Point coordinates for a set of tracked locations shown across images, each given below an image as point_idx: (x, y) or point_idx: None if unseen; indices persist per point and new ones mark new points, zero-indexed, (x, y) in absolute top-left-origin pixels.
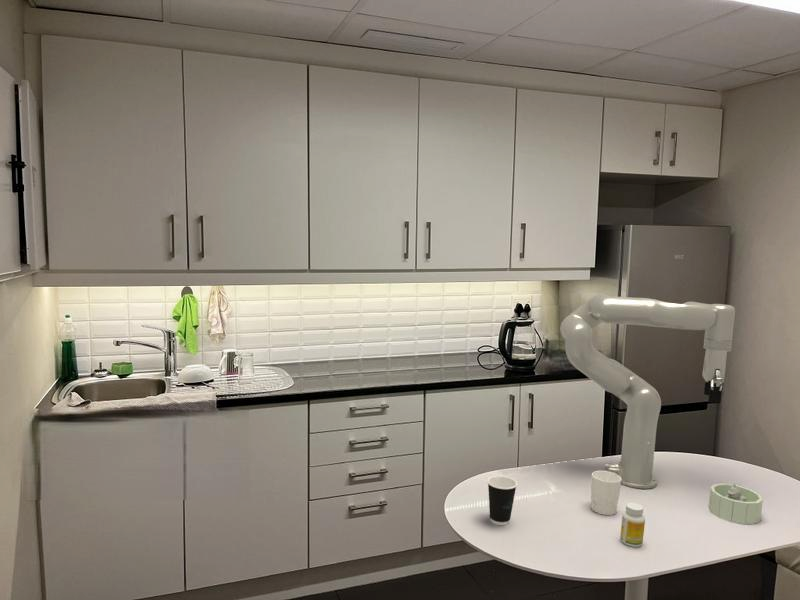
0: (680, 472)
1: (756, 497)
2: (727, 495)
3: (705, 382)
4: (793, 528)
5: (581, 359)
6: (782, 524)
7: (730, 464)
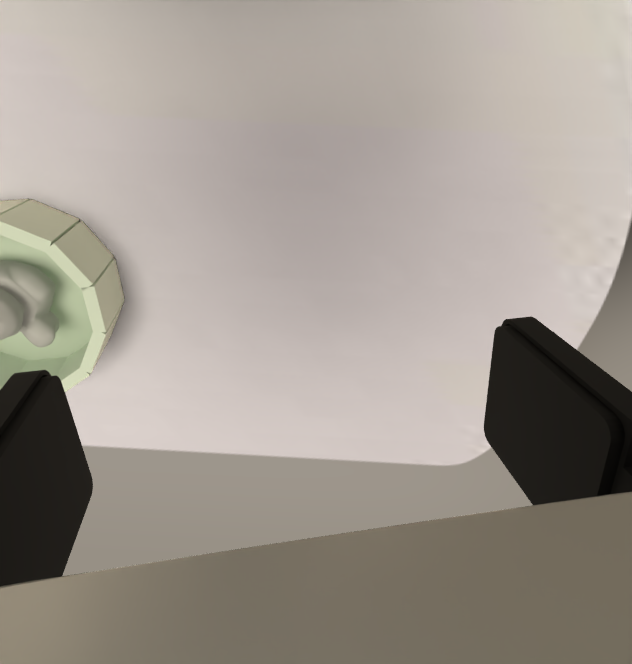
0: (382, 93)
1: None
2: (6, 282)
3: (629, 424)
4: None
5: None
6: None
7: (559, 302)
